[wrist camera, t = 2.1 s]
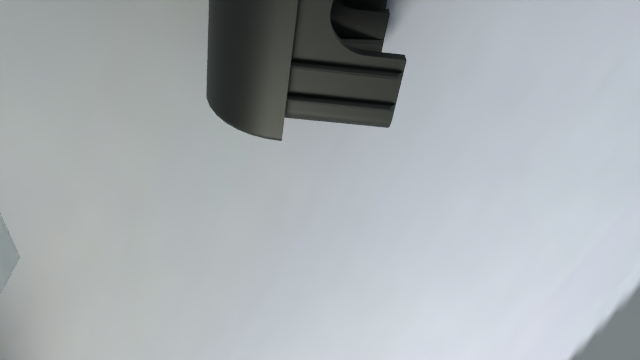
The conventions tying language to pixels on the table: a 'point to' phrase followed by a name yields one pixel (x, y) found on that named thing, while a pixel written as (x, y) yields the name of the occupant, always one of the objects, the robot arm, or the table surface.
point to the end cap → (300, 63)
